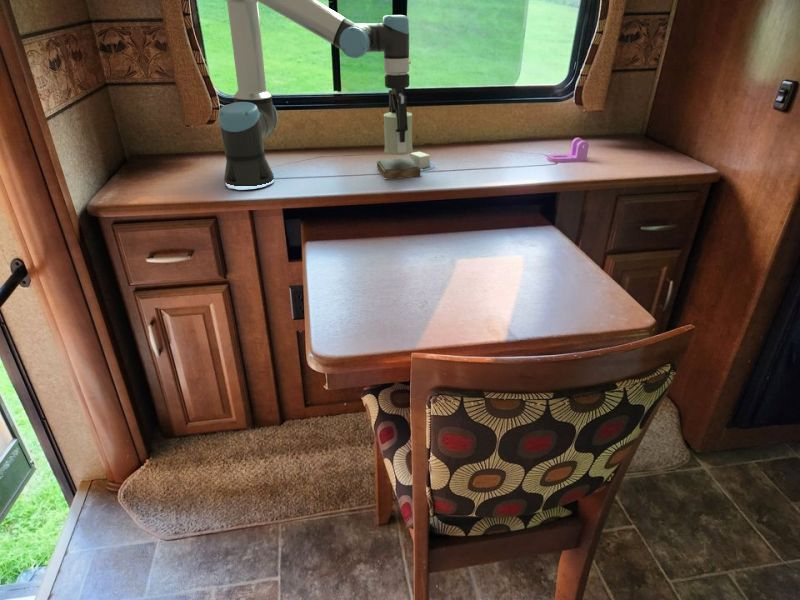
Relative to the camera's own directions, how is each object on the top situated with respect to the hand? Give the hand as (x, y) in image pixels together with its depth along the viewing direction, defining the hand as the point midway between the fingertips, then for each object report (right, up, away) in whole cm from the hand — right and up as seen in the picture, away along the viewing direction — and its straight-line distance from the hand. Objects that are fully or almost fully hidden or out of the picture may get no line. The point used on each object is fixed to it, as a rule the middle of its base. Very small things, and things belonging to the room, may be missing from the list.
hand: (398, 148), depth 168 cm
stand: (0, -7, +4) cm, 8 cm away
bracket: (+59, 0, +15) cm, 61 cm away
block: (+7, -3, +11) cm, 13 cm away
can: (0, -1, +1) cm, 1 cm away
